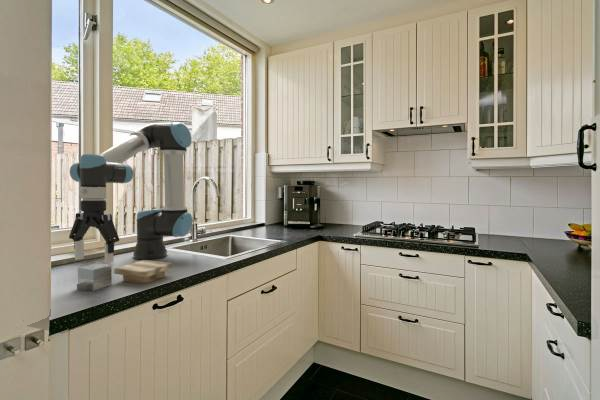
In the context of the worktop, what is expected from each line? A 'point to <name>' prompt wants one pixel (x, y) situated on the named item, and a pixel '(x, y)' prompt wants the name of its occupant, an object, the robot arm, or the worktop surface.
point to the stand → (143, 271)
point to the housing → (94, 277)
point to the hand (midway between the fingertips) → (93, 261)
